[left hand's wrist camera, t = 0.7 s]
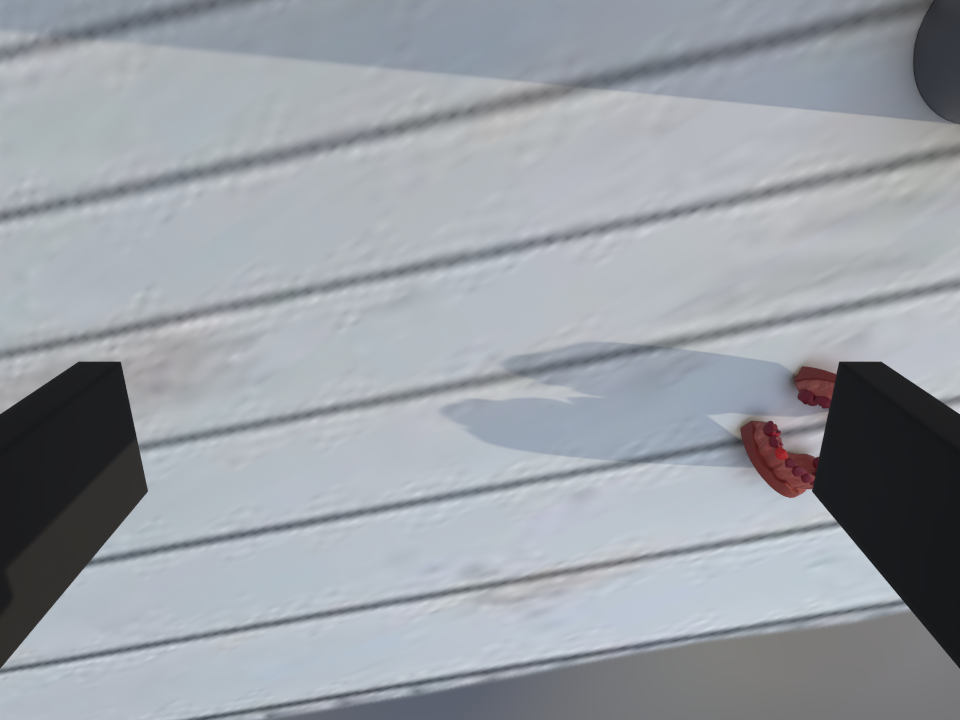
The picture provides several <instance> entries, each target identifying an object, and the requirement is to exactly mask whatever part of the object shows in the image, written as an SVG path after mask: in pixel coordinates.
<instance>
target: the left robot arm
mask: <svg viewBox="0 0 960 720" xmlns="http://www.w3.org/2000/svg"><path fill="white" fill-rule="evenodd" d="M147 492H148V489H147V485H146V480H145V475H144V470H143V465H142V461H141V456H140V451H139V446H138V442H137V437H136V432H135V427H134V423H133V418H132V413H131V408H130V404H129V399H128V394H127V389H126V385H125V380H124V375H123V370H122V365H121V362H78V363H76V364H75V365H73V366H72V367H70V368H69V369H67V370H66V371H64V372H63V373H61V374H60V375H58V376H57V377H55V378H54V379H52V380H51V381H49V382H48V383H46V384H45V385H43V386H42V387H40V388H39V389H37V390H36V391H34V392H33V393H31V394H30V395H28V396H27V397H25V398H24V399H22V400H21V401H19V402H18V403H16V404H15V405H13V406H12V407H10V408H9V409H7V410H6V411H4V412H3V413H1V414H0V668H1V667H2V666H3V665H4V663H5V662H6V661H7V660H8V659H9V657H10V656H11V655H12V654H13V653H14V651H15V650H16V649H17V648H18V647H19V645H20V644H21V643H22V642H23V641H24V639H25V638H26V637H27V636H28V635H29V633H30V632H31V631H32V630H33V629H34V627H35V626H36V625H37V624H38V623H39V621H40V620H41V619H42V618H43V617H44V615H45V614H46V613H47V612H48V611H49V609H50V608H51V607H52V606H53V605H54V603H55V602H56V601H57V600H58V599H59V597H60V596H61V595H62V594H63V593H64V591H65V590H66V589H67V588H68V587H69V585H70V584H71V583H72V582H73V581H74V579H75V578H76V577H77V576H78V575H79V573H80V572H81V571H82V570H83V569H84V567H85V566H86V565H87V564H88V563H89V561H90V560H91V559H92V558H93V557H94V555H95V554H96V553H97V552H98V551H99V549H100V548H101V547H102V546H103V545H104V543H105V542H106V541H107V540H108V539H109V537H110V536H111V535H112V534H113V533H114V531H115V530H116V529H117V528H118V527H119V525H120V524H121V523H122V522H123V521H124V519H125V518H126V517H127V516H128V515H129V513H130V512H131V511H132V510H133V509H134V507H135V506H136V505H137V504H138V503H139V501H140V500H141V499H142V498H143V497H144V495H145V494H146V493H147ZM812 492H813V493H814V494H815V495H816V497H817V498H818V499H819V500H820V501H821V503H822V504H823V505H824V506H825V507H826V509H827V510H828V511H829V512H830V513H831V515H832V516H833V517H834V518H835V519H836V521H837V522H838V523H839V524H840V525H841V527H842V528H843V529H844V530H845V531H846V533H847V534H848V535H849V536H850V537H851V539H852V540H853V541H854V542H855V543H856V545H857V546H858V547H859V548H860V549H861V551H862V552H863V553H864V554H865V555H866V557H867V558H868V559H869V560H870V561H871V563H872V564H873V565H874V566H875V567H876V569H877V570H878V571H879V572H880V573H881V575H882V576H883V577H884V578H885V579H886V581H887V582H888V583H889V584H890V585H891V587H892V588H893V589H894V590H895V591H896V593H897V594H898V595H899V596H900V597H901V599H902V600H903V601H904V602H905V603H906V605H907V606H908V607H909V608H910V609H911V611H912V612H913V613H914V614H915V615H916V617H917V618H918V619H919V620H920V621H921V623H922V624H923V625H924V626H925V627H926V629H927V630H928V631H929V632H930V633H931V635H932V636H933V637H934V638H935V639H936V641H937V642H938V643H939V644H940V645H941V647H942V648H943V649H944V650H945V651H946V653H947V654H948V655H949V656H950V657H951V659H952V660H953V661H954V662H955V663H956V665H957V666H958V667H959V668H960V414H959V413H957V412H956V411H954V410H953V409H951V408H950V407H948V406H947V405H945V404H944V403H942V402H941V401H939V400H938V399H936V398H935V397H933V396H932V395H930V394H929V393H927V392H926V391H924V390H923V389H921V388H920V387H918V386H917V385H915V384H914V383H912V382H911V381H909V380H908V379H906V378H905V377H903V376H902V375H900V374H899V373H897V372H896V371H894V370H893V369H891V368H890V367H888V366H887V365H885V364H884V363H882V362H839V365H838V370H837V375H836V380H835V385H834V389H833V394H832V399H831V404H830V408H829V413H828V418H827V423H826V427H825V432H824V437H823V442H822V446H821V451H820V456H819V461H818V465H817V470H816V475H815V480H814V485H813V489H812Z"/></svg>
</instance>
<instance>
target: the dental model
mask: <svg viewBox="0 0 960 720" xmlns="http://www.w3.org/2000/svg"><path fill="white" fill-rule="evenodd" d="M794 380H795V381H796V382H795V385H796V387H797V389H798V391H799V394H798V399H799V400H801V401H802V402H803V403H804V404H808V405H810V406H816V405H817V404H818V405H819V406H822V408H830V404H831V399H832V394H833V389H834V385H835V380H836V374H834V373H831V372H828V371H825V370H821V369H817V368H812V367H804V366H803V367H802V368H801V370H800V371H799V373H798V375H797V376H796V378H795V379H794ZM780 434H781V432H780V431H779V430H778V428H777V425H776V424H774V423H773V422H772V421H769V422H760V421H751V422H749V423H748V424H746V425H745V426H743V427H741V436H742V440H743V443H744V446H745V449H746V451H747V454H748V456H749V458H750V460H751V462H752V463H753V465H754V467H755V468H756V470H757V471H758V473H759V474H760V475H761V477H762V478H763V479H764V480H765V481H766V482H767V483H768V485H769V486H771V487H772V488H773V489H774V490H775V491H777V492H778V493H780V494H781V495H783V496H785V497H789V498H794V497H796V496H798V495H800V494H802V493H804V492H805V491H806V489H813V485H814V480H815V475H816V470H817V465H818V461H819V457H816V458H815V457H813V456H811V455H808V454H792V453H788V452H786V451H785V450H784V449H783V448H782V447H783V444H782V440H781V438H779V437H778V436H780Z"/></svg>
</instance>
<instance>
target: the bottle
mask: <svg viewBox="0 0 960 720" xmlns="http://www.w3.org/2000/svg"><path fill="white" fill-rule="evenodd" d="M914 72H915V78H916V82H917V86H918V88H919V91H920V93H921V95H922V97H923V99H924V100H925V102H926V103H927V104H928V105H929V107H930V108H931V109H932V110H933V111H934V112H936V113H937V114H938V115H939V116H941V117H943V118H944V119H946V120H949V121H951V122H954V123H957V124H960V0H935V1H934V2H933V4H932V6H931V7H930V9H929V10H928V12H927V14H926V16H925V18H924V20H923V22H922V25H921V27H920V30H919V33H918V37H917V40H916V45H915V51H914Z"/></svg>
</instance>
